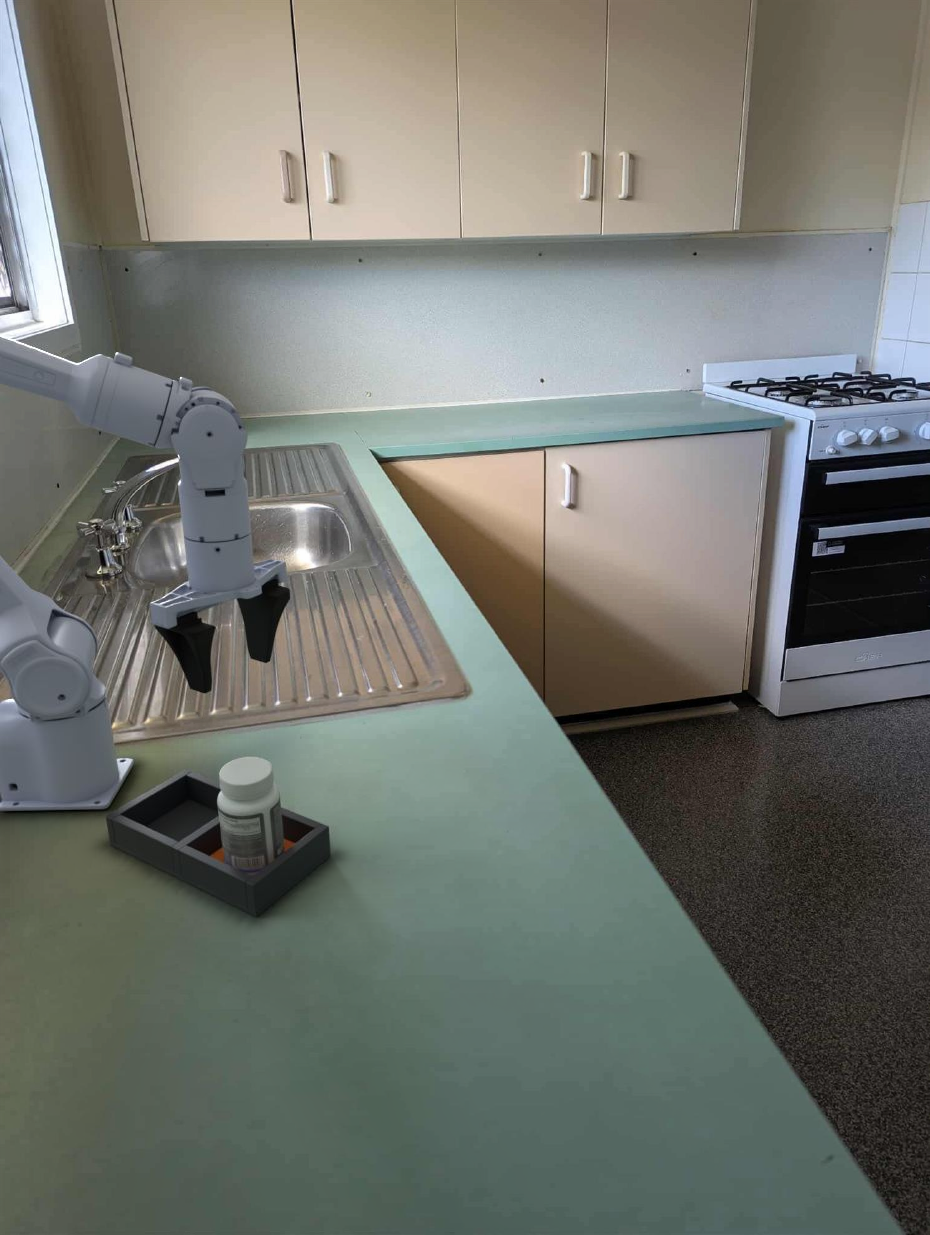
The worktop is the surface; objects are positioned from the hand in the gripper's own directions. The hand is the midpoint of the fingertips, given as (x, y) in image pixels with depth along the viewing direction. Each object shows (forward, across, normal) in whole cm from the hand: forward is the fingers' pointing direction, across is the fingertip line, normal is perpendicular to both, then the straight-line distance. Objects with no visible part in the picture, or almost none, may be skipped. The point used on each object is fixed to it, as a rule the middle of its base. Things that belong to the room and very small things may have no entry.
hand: (231, 674), depth 81 cm
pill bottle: (+9, -11, -13) cm, 19 cm away
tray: (+9, -11, -9) cm, 17 cm away
